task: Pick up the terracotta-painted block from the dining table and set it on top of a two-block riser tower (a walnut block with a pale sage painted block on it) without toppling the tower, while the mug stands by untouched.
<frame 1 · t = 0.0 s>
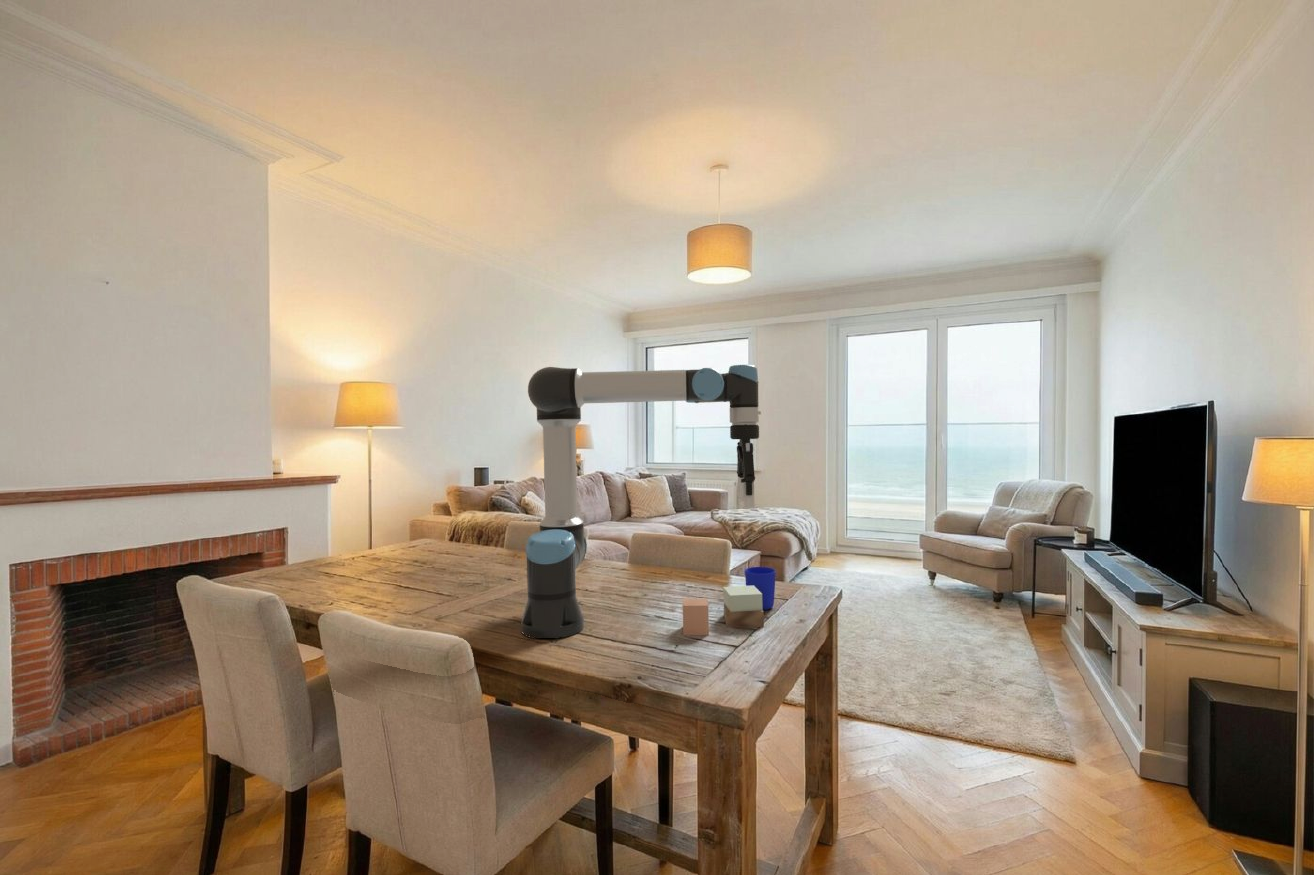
hand: (746, 504, 158), 28 cm above the table, fingers open, 13 cm apart
riser lower: (743, 622, 150), on the table, touching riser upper
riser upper: (742, 606, 150), point 4 cm above the table, touching riser lower
clay block: (695, 631, 144), on the table
mug: (760, 605, 163), on the table
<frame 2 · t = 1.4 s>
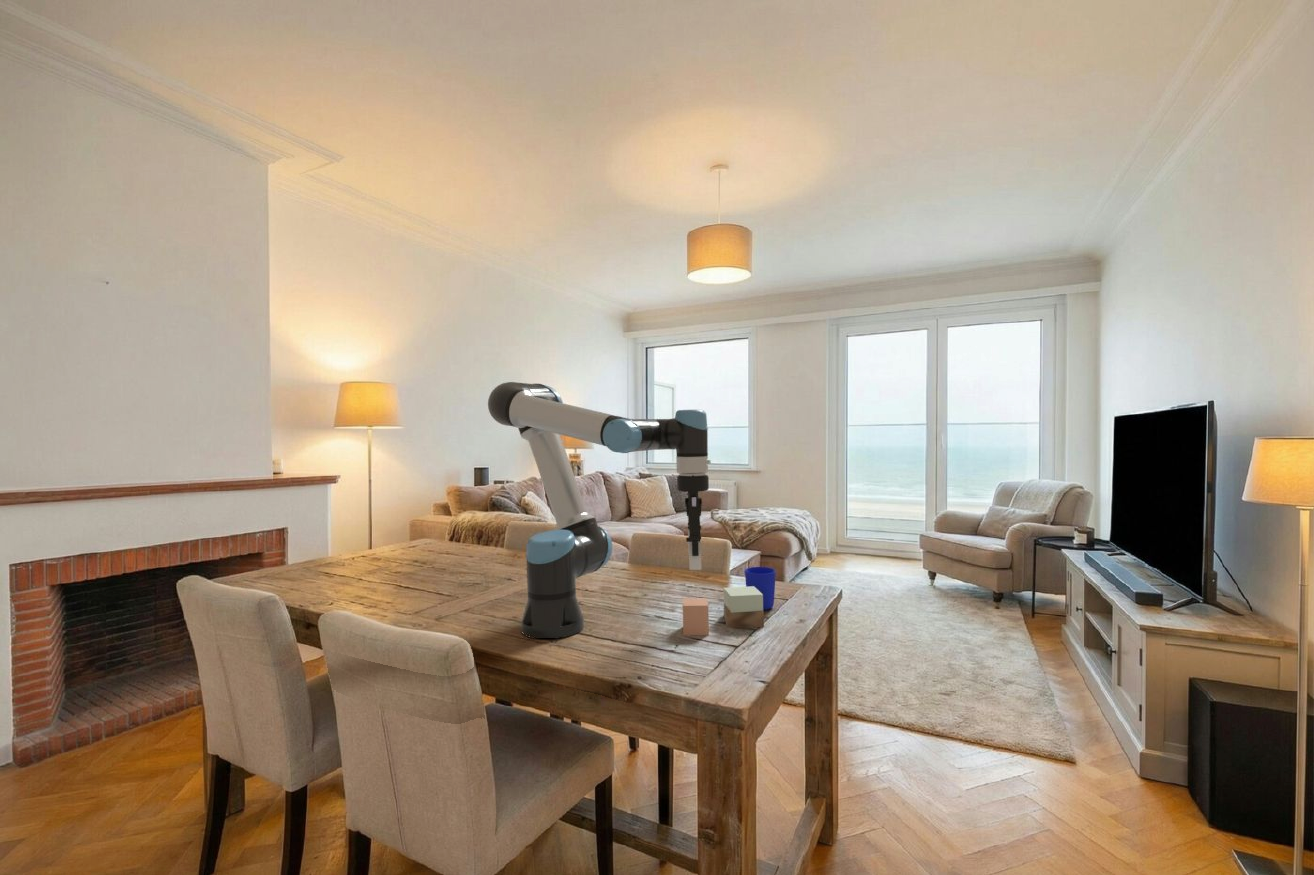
hand: (694, 563, 143), 16 cm above the table, fingers open, 13 cm apart
nothing on the table moved.
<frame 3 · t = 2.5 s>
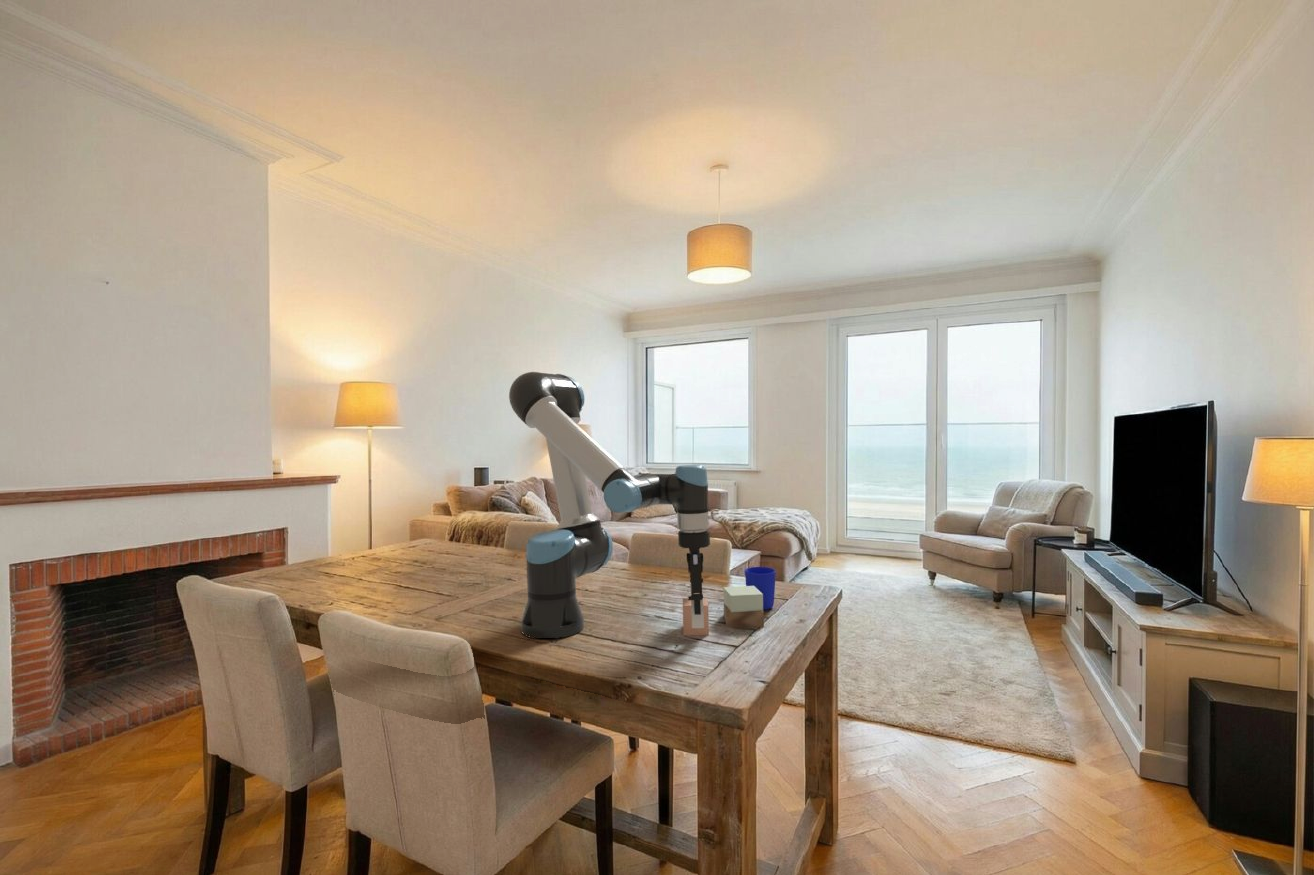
hand: (697, 618, 143), 3 cm above the table, fingers open, 13 cm apart
nothing on the table moved.
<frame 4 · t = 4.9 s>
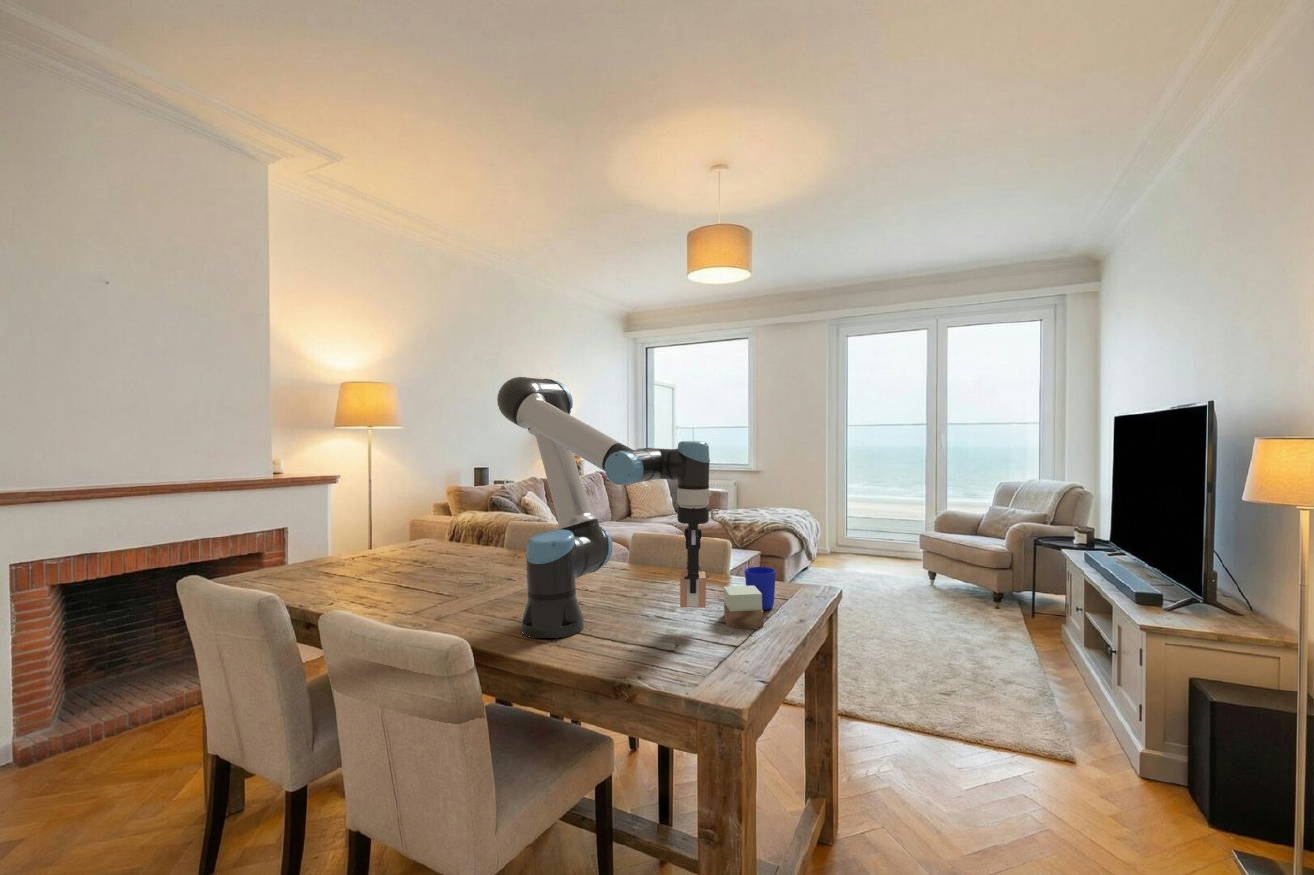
hand: (692, 601, 144), 7 cm above the table, fingers closed on clay block, 6 cm apart
riser lower: (743, 622, 150), on the table
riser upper: (742, 606, 150), point 4 cm above the table
clay block: (692, 603, 144), point 6 cm above the table, touching gripper
everything else where it was.
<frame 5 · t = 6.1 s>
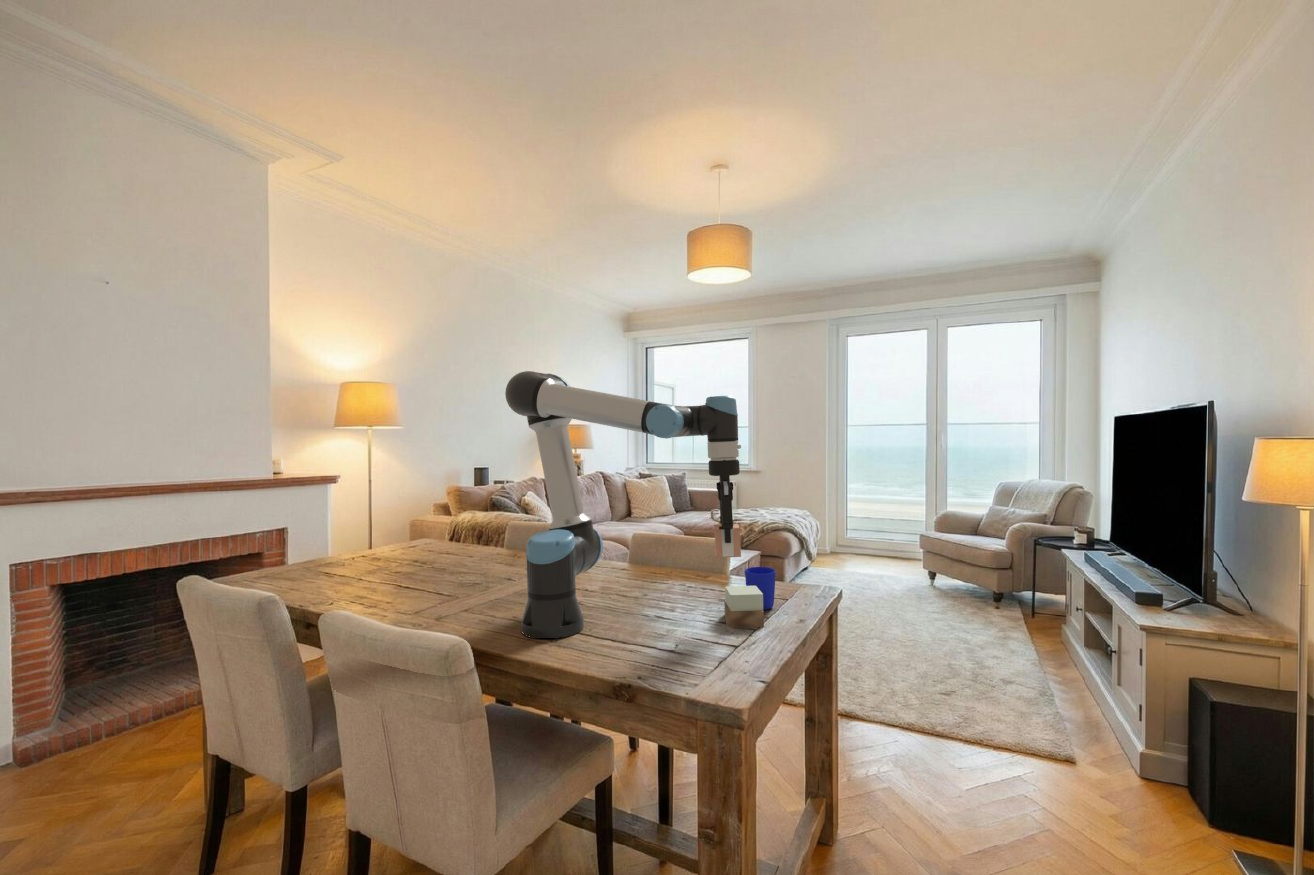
hand: (727, 553, 147), 18 cm above the table, fingers closed on clay block, 6 cm apart
riser lower: (743, 622, 150), on the table, touching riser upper
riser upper: (743, 606, 150), point 4 cm above the table, touching riser lower
clay block: (727, 554, 147), point 17 cm above the table, touching gripper
everything else where it was.
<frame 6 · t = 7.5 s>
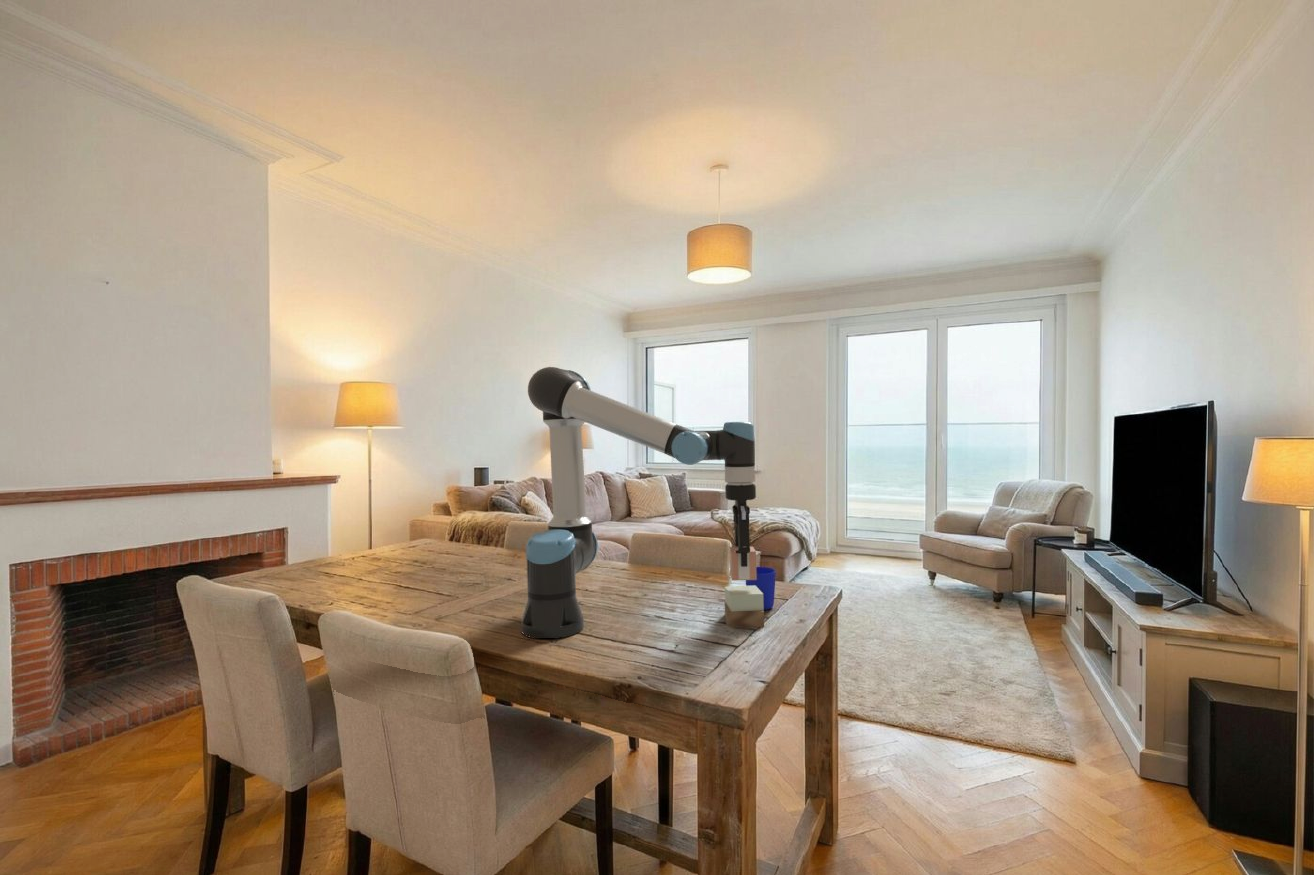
hand: (742, 575, 150), 11 cm above the table, fingers closed on clay block, 6 cm apart
clay block: (743, 577, 150), point 11 cm above the table, touching gripper
everything else where it was.
when the fingers open (8 cm above the table, at t = 8.8 s): clay block stays where it is, resting on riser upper.
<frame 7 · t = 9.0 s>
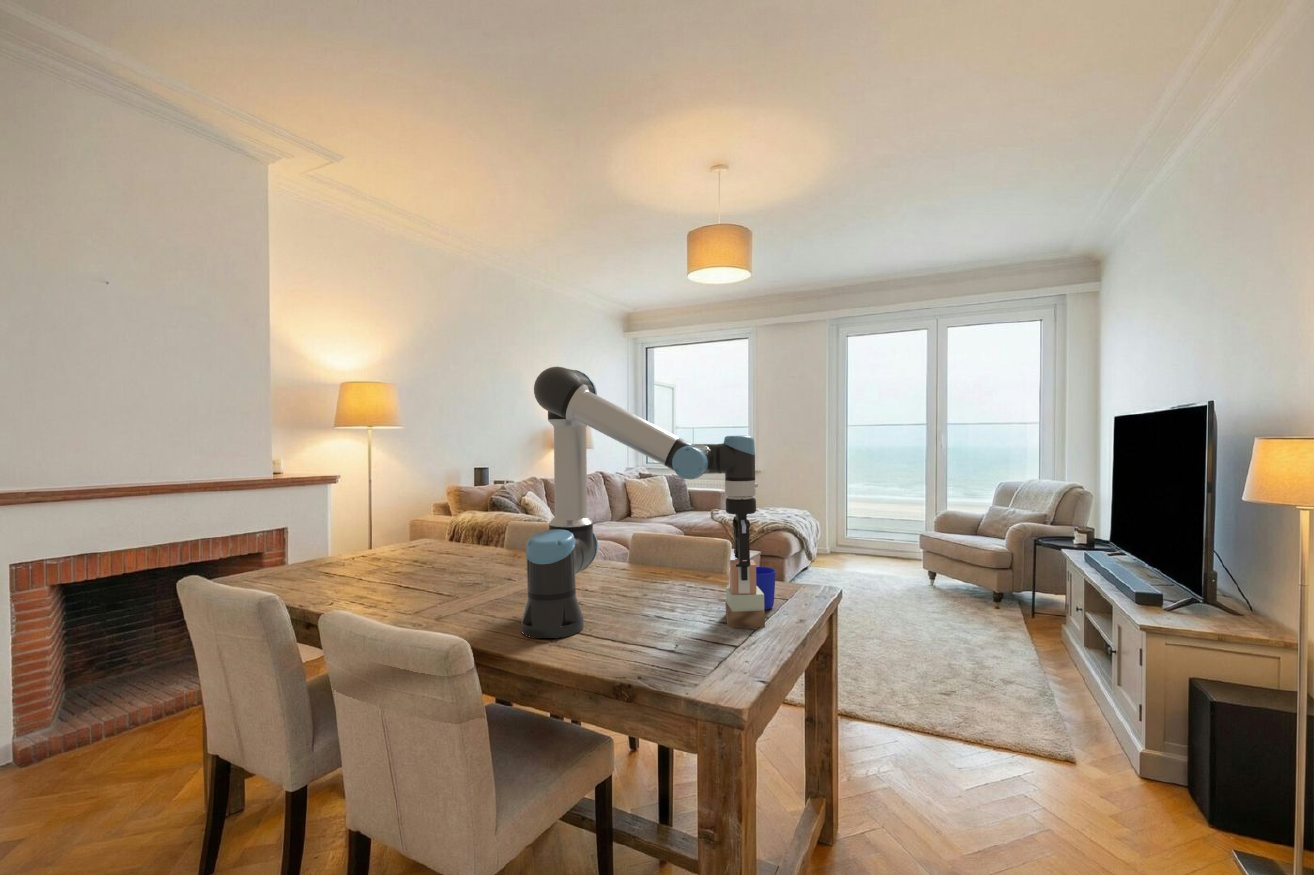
hand: (742, 588, 150), 8 cm above the table, fingers open, 7 cm apart
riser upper: (744, 606, 150), point 4 cm above the table, touching clay block, riser lower
clay block: (742, 590, 150), point 8 cm above the table, touching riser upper
everything else where it was.
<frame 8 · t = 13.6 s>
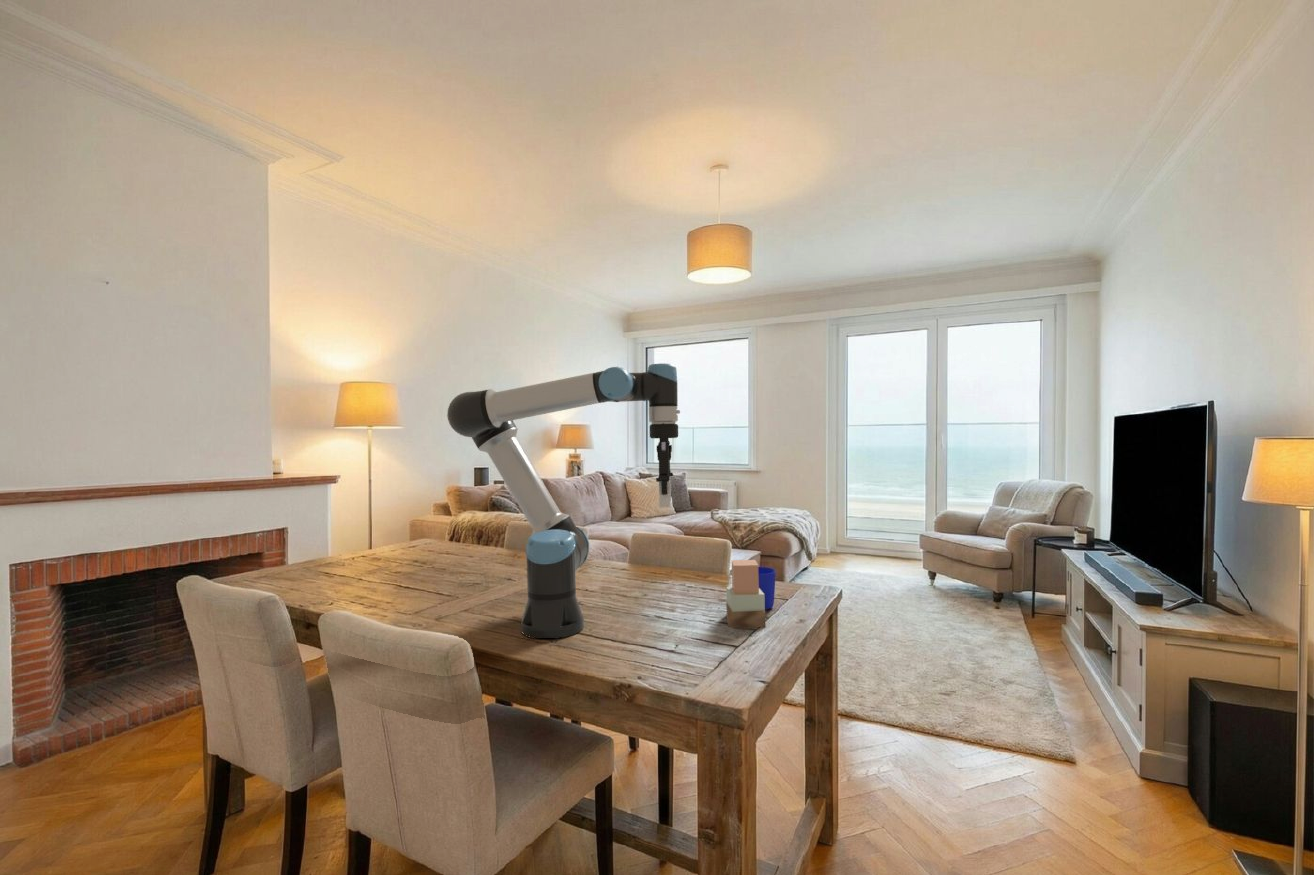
hand: (665, 504, 157), 29 cm above the table, fingers open, 13 cm apart
nothing on the table moved.
at the end: clay block inside the target area on the riser lower (0.2 cm from its centre), point 8.0 cm above the riser lower's base; clay block tilted 0°; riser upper moved 0.9 cm from its start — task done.
